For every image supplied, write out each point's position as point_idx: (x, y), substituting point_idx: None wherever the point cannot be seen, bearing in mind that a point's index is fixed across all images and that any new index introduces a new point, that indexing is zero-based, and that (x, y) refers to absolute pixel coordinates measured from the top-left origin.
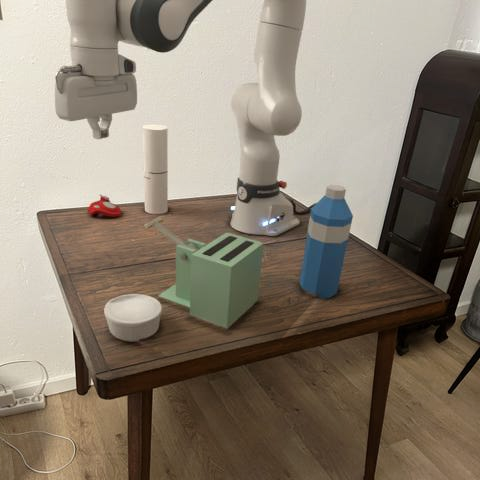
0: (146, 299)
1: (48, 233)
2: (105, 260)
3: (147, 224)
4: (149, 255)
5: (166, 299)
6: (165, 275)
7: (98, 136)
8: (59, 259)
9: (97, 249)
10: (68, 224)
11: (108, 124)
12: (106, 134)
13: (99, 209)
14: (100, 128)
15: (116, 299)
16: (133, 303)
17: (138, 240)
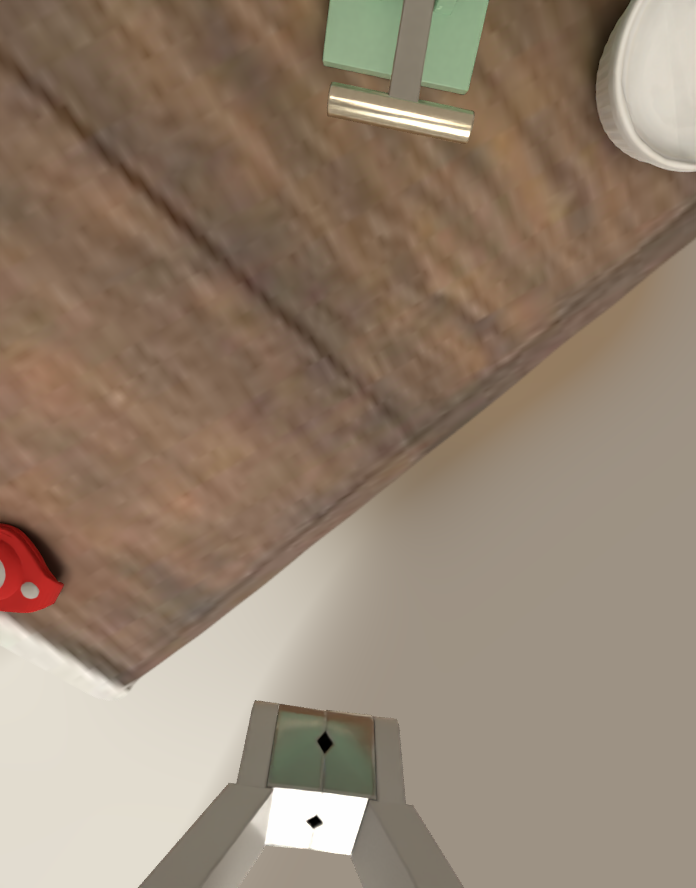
0: (642, 38)
1: (228, 608)
2: (291, 400)
3: (472, 117)
4: (182, 293)
5: (478, 45)
6: (287, 161)
7: (395, 746)
8: (348, 507)
9: (240, 456)
10: (148, 600)
11: (228, 837)
12: (290, 728)
13: (36, 576)
14: (384, 823)
15: (663, 156)
16: (694, 68)
17: (107, 383)
